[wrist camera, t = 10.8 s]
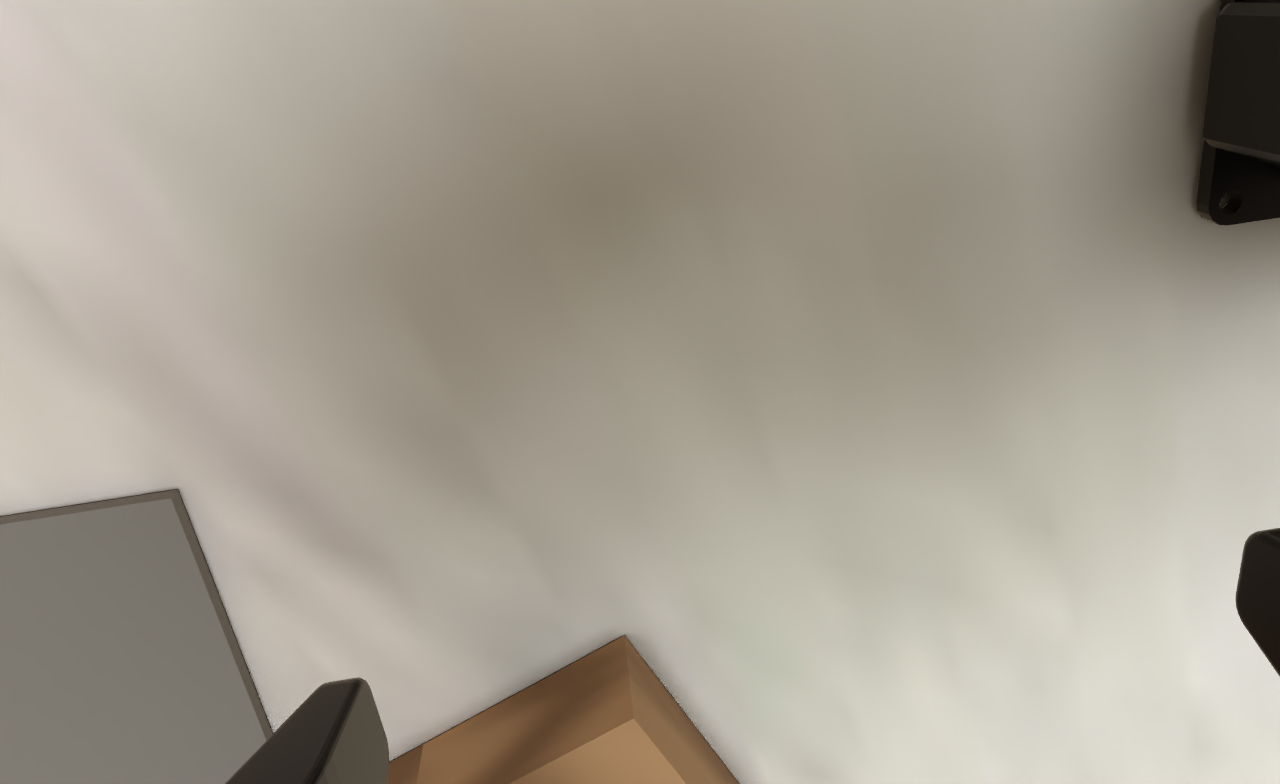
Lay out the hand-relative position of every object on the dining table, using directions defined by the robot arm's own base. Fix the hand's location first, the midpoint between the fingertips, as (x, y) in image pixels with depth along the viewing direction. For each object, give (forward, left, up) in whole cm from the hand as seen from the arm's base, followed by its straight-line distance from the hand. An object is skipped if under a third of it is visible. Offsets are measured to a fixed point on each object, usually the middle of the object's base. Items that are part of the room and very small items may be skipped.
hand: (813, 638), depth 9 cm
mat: (+17, +8, -12) cm, 22 cm away
